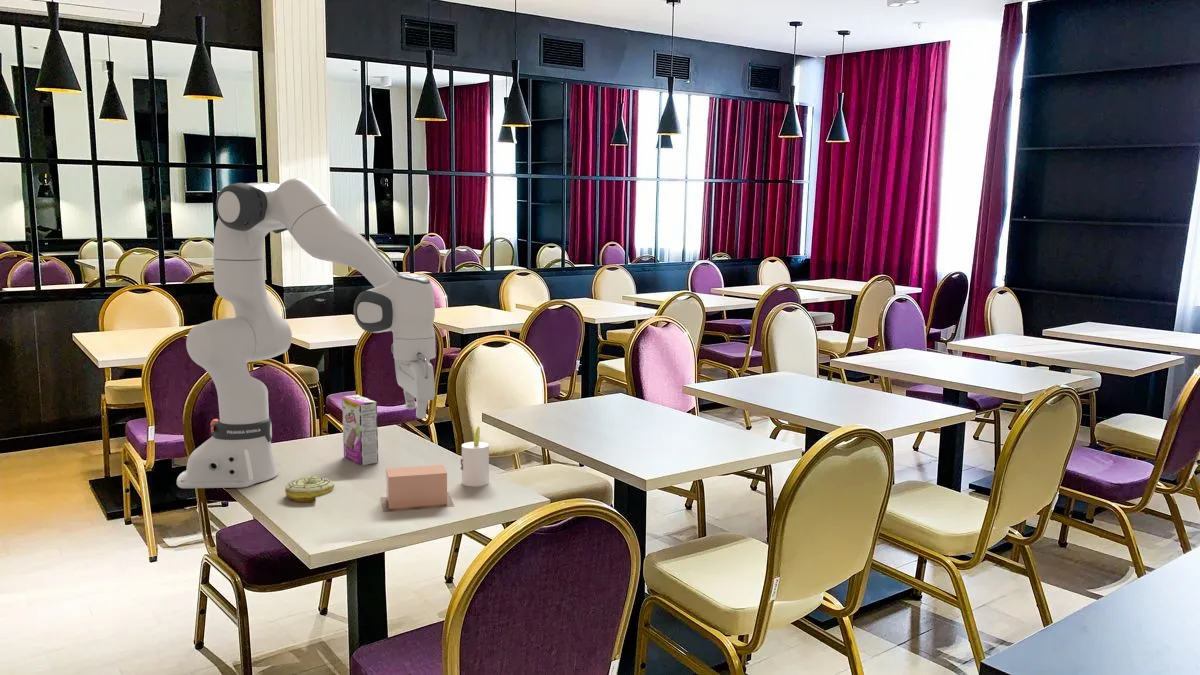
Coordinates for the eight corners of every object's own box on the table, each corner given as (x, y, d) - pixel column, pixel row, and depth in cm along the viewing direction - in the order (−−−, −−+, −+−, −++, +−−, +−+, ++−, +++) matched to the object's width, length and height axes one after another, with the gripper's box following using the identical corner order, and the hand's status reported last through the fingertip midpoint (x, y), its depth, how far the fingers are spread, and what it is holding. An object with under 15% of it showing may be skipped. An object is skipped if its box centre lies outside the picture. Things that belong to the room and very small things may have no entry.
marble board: (383, 518, 188) (382, 498, 187) (380, 504, 197) (380, 484, 197) (454, 512, 192) (454, 492, 192) (448, 498, 202) (448, 479, 201)
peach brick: (388, 508, 190) (388, 477, 189) (386, 499, 196) (386, 468, 195) (447, 504, 193) (446, 473, 192) (443, 495, 200) (443, 464, 199)
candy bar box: (342, 457, 234) (340, 396, 232) (360, 454, 237) (358, 394, 235) (361, 466, 226) (359, 403, 223) (379, 463, 229) (378, 401, 227)
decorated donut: (339, 489, 208) (338, 473, 208) (328, 504, 198) (327, 487, 197) (293, 489, 208) (293, 473, 207) (280, 504, 197) (279, 487, 196)
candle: (458, 485, 211) (458, 424, 209) (485, 483, 213) (485, 422, 211) (464, 493, 205) (463, 430, 203) (491, 491, 208) (491, 428, 206)
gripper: (441, 356, 182) (442, 422, 184) (417, 342, 200) (418, 403, 202) (411, 358, 179) (412, 425, 181) (389, 344, 198) (391, 405, 200)
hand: (415, 413), depth 192 cm, fingers open, 8 cm apart
